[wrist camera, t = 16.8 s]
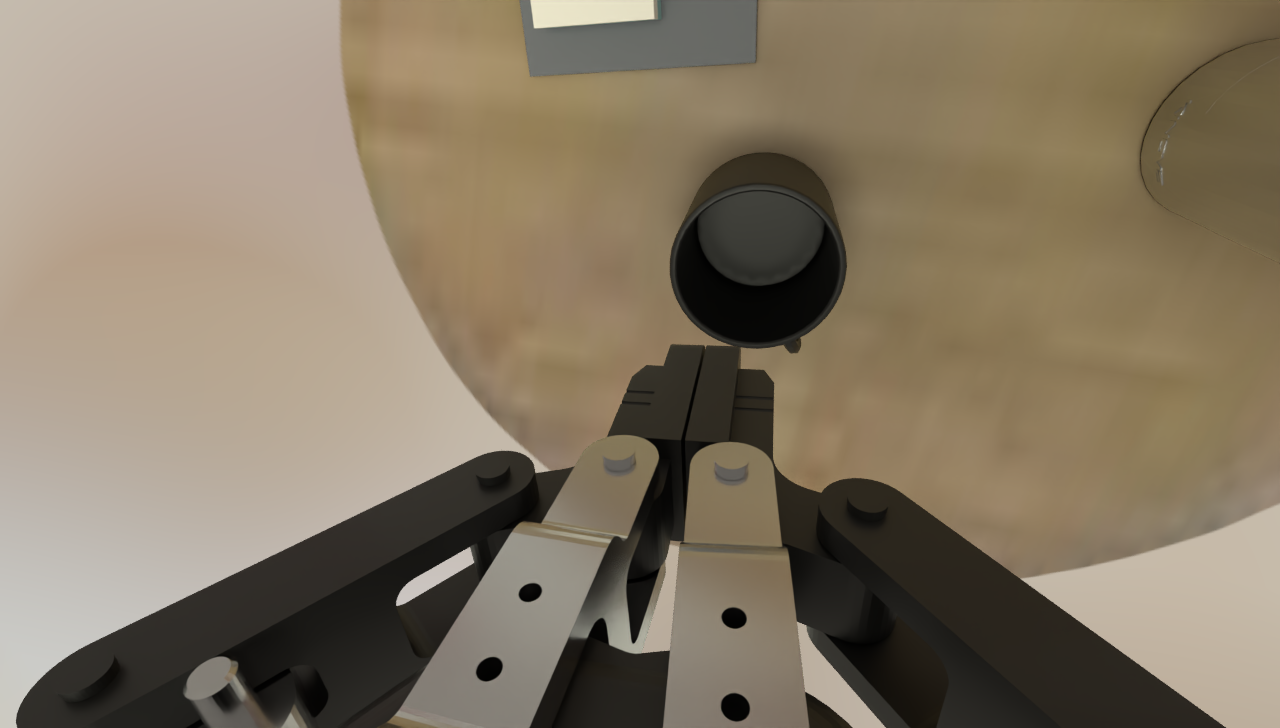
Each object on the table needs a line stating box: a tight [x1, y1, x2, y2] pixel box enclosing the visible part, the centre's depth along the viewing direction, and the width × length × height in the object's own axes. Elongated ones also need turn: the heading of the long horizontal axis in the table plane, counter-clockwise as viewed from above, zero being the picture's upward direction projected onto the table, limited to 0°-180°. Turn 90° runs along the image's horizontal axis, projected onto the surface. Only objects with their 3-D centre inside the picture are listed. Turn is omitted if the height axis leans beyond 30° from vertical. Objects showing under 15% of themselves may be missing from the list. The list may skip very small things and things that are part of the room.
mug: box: [670, 153, 847, 353], centre depth 37 cm, size 9×12×9 cm
